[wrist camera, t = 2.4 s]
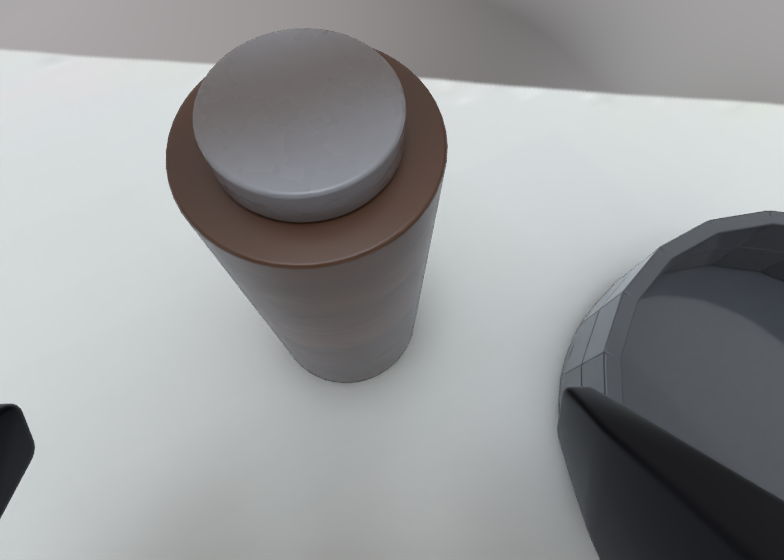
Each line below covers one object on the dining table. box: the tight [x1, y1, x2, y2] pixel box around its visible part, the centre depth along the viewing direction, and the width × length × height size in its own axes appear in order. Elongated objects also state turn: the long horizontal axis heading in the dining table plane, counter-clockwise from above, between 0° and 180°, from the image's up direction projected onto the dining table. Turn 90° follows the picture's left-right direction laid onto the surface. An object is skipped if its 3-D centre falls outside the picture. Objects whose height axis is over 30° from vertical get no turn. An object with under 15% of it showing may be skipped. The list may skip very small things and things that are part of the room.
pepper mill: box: [166, 28, 448, 383], centre depth 15 cm, size 6×6×13 cm
